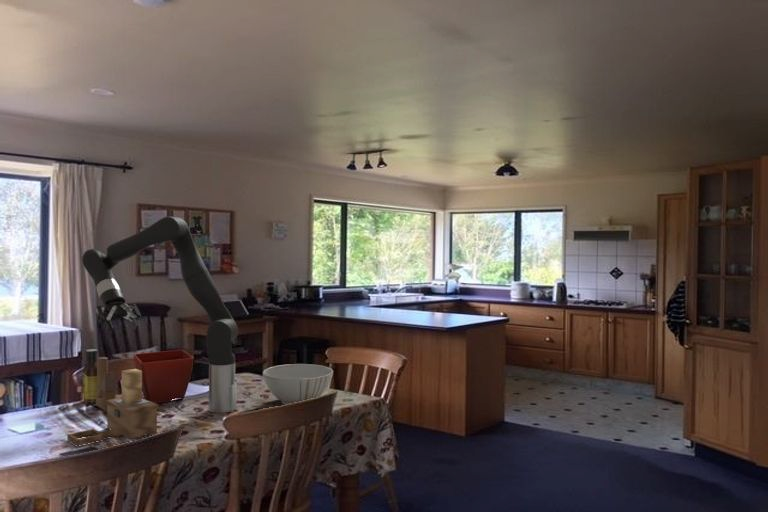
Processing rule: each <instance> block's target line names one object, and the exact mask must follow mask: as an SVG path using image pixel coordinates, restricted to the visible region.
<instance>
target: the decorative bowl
mask: <svg viewBox="0 0 768 512" xmlns="http://www.w3.org/2000/svg"><path fill="white" fill-rule="evenodd" d="M333 376H334V370H333V369H332V368H331V367H329V366H325V365H321V364H308V363H293V364H289V363H288V364H282V365H281V364H280V365H274V366H271V367H268V368H265V369H263V371H262V378H263V379H264V383H265V384H266V385H265V386H266V387H267V389H268V390H269V392H270V393H271V394H272V395H273V396H274V397H275V398H276V399H278V400H279V401H281V404H282V405H284V404H289V403H294V402H299V401H303V400H307V399H311V398H316V397H318V398H320V397H321V396H322V394H324V392H326V390H327V388H328V387H329V385H330V383H331V381H332V378H333Z"/></svg>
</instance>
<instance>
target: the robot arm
mask: <svg viewBox="0 0 768 512" xmlns="http://www.w3.org/2000/svg"><path fill="white" fill-rule="evenodd" d="M164 242H171V244H172V246H173V247H174V249H175V251H176V253H177V255H178V259H179V262H180V271H181V275H182V279H183V281H184V284H185V286H186V287H187V290H188V292H189V293H190V295H191V296H192V297H193V299H195V301H196V302H197V303H198V304H199V305H200V306H201V307H202V309H204V311H205V312H206V314H207V315H208V318H209V320H210V322H211V323H209V325H208V327H207V330H206V353H207V358H208V364H209V365H208V411H209V412H211V413H215V414H221V413H222V414H224V413H232V412H235V411H234V410H236V409H237V403H238V402H237V400H238V399H237V389H238V388H237V385H238V384H237V383H238V382H236V356H235V354H234V353H233V351H232V347H233V346H232V342H233V341H235V339H237V336H238V334H239V328H238V324H237V323H236V321H235V319H234V318H233V316H232V315H231V313H230V311H229V310H228V308H227V307H226V305H225V303H224V301H223V299H222V297H221V295H220V292H219V290H218V289H217V287H216V284H215V282H214V280H213V278H212V276H211V274H210V272H209V270H208V268H207V267H206V264H205V262H204V261H203V258H202V256H201V255H200V253H199V251H198V249H197V246H196V244H195V242H194V239H193V237H192V234H191V231H190V227H189V226H188V223H187V222H186V221H185V220H184V219H183V218H181V217H179V216H170V215H169V216H164V217H162V218H160V219H158V220H157V221H156V222H154V223H152V224H151V225H150V226H148V227H146V228H145V229H143V230H141V231H139V232H137V233H135V234H133V235H130V236H128V237H126V238H124V239H121V240H119V241H117V242H113V243H112V244H110V245H108V247H107V248H106V253H105V254H104V252H101V251H100V250H98V249H94V248H90V249H87V250H86V251H85V252H84V253H83V254H82V259H81V260H82V264H83V267H84V268H85V271H87V273H88V274H89V276H90V277H91V279H92V280H93V283H94V285H95V288H96V292H97V294H98V295H97V296H98V297H99V300H100V303H101V305H102V306H101V305H98V306H96V308H95V311H94V312H95V315H96V318H97V323H99V324H104V325H106V329H107V331H108V332H109V333H113V332H114V331H115V326H114V324H113V322H112V320H111V319H112V318H113V319H118V318H124V319H125V320H128V321H130V323H131V325H132V327H133V329H134V331H137V330H138V328H139V326H140V323H139V320H140V318H141V316H142V314H141V312H140V310H139V308H138V306H137V304H136V303H132V304H131V305H128V304H127V303H126V299H125V296H124V295H123V291H122V289H121V287H120V285H119V284H118V282H117V279H116V277H115V274H114V272H113V271H112V270H111V269H113V268H114V267H116V266H117V265H118V264H120V262H122V261H125V260H126V259H127V260H128V259H129V258H131V257H135V256H136V255H137V254H139V253H141V252H142V251H144V250H145V249H146V248H149V247H150V246H153V245H156V244H159V243H164ZM104 313H105V314H107V316H106V317H105V316H104Z"/></svg>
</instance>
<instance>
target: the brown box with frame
mask: <svg viewBox="0 0 768 512" xmlns="http://www.w3.org/2000/svg"><path fill="white" fill-rule="evenodd" d="M106 404H107V412H106V417H107V418H106V419H107V420H106V426H107V429H108V428H109V429H108V430H107V429H106V430H103V431H98V430H96V429H95V428H90V429H87V430H83V431H82V430H81V431H77V432H74V433H67V435H66V436H67V439H66V440H68V441H70V442H72V443H73V444H75V445H77V446H79V445H83V444H88V443H92V442H96V441H101V440H104V441H105V439H104V438H108V437H112V438H115V437H114V436H116V437H120V436H119V435H121V436H122V435H123V436H122V437H124V436H125V437H124V438H126V437H127V438H126V439H128V440H132V439H131V438H133V439H136V438H135V437H137V438H141V437H144V436H143V435H145V434H150V435H153V434H156V433H158V429H157V428H158V414H157V413H158V409H159V403H153V402H151V401H148V400H146V399H145V398H143V397H142V402H136V403H131V404H127V403H124V402H122V396H121V397H117V398H116V397H115V399H110V400H106ZM110 429H111V430H110ZM88 436H91V437H88ZM140 436H141V437H140ZM145 436H146V435H145ZM82 437H87V438H82ZM78 438H82V439H78ZM108 439H109V438H108ZM68 441H67V442H68ZM70 442H69V443H70ZM101 442H102V441H101ZM72 443H71V444H72ZM73 444H72V445H73ZM75 445H74V446H75ZM88 445H89V444H88ZM77 446H76V447H77Z"/></svg>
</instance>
